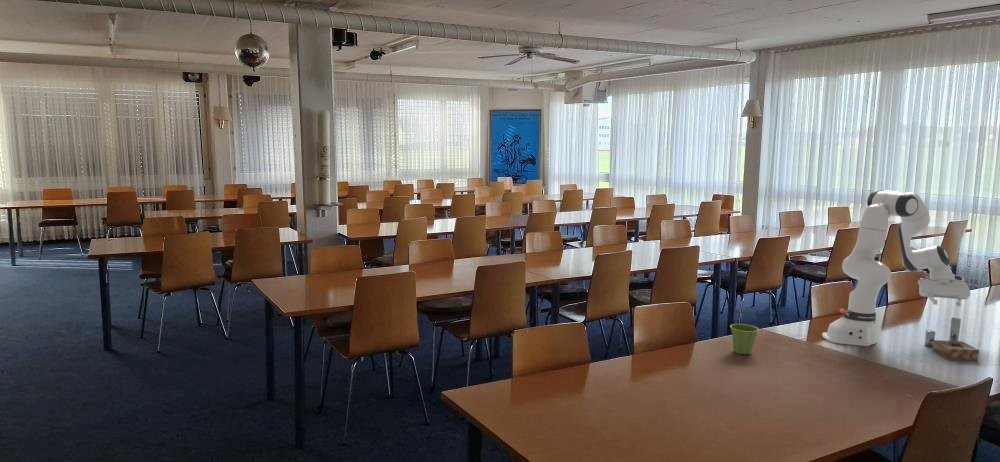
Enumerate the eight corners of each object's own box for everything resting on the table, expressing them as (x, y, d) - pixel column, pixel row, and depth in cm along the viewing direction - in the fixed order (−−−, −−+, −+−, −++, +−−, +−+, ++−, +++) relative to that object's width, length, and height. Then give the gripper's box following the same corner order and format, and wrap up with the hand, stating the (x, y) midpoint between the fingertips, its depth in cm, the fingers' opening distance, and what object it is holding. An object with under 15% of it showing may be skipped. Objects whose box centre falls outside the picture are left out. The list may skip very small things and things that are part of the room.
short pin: (926, 347, 298) (928, 332, 297) (923, 344, 301) (924, 330, 300) (935, 347, 298) (936, 332, 297) (931, 345, 301) (932, 330, 300)
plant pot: (759, 357, 280) (761, 332, 278) (730, 355, 282) (731, 330, 280) (754, 349, 291) (756, 324, 290) (726, 347, 294) (728, 322, 292)
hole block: (947, 359, 281) (948, 348, 280) (932, 350, 293) (933, 340, 292) (977, 361, 280) (979, 350, 279) (961, 352, 291) (962, 341, 291)
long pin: (950, 349, 295) (954, 319, 293) (946, 347, 298) (949, 317, 296) (958, 350, 295) (962, 319, 293) (954, 347, 298) (958, 317, 296)
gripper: (919, 274, 313) (923, 299, 305) (968, 277, 308) (974, 303, 300) (914, 281, 318) (919, 306, 310) (963, 285, 313) (969, 310, 305)
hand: (946, 304), depth 305 cm, fingers open, 8 cm apart
